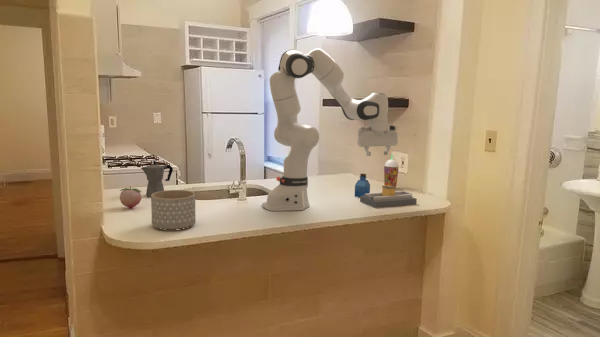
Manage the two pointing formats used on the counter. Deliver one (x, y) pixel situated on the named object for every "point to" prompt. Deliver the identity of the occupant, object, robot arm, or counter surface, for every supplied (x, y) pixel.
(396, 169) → the smoothie
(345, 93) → the robot arm
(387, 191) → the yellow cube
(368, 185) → the perfume bottle
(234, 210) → the counter surface
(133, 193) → the decorative fruit
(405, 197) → the grey tray
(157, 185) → the coffeepot
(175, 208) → the planter
